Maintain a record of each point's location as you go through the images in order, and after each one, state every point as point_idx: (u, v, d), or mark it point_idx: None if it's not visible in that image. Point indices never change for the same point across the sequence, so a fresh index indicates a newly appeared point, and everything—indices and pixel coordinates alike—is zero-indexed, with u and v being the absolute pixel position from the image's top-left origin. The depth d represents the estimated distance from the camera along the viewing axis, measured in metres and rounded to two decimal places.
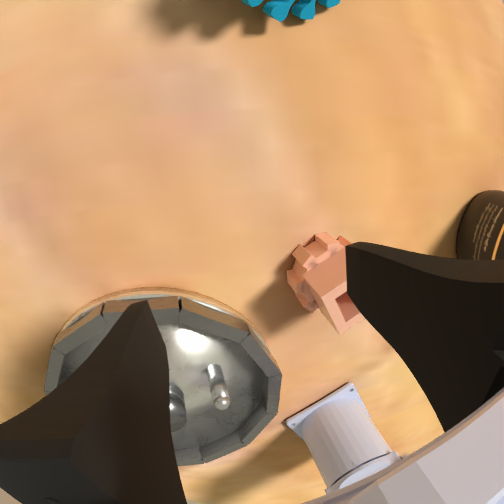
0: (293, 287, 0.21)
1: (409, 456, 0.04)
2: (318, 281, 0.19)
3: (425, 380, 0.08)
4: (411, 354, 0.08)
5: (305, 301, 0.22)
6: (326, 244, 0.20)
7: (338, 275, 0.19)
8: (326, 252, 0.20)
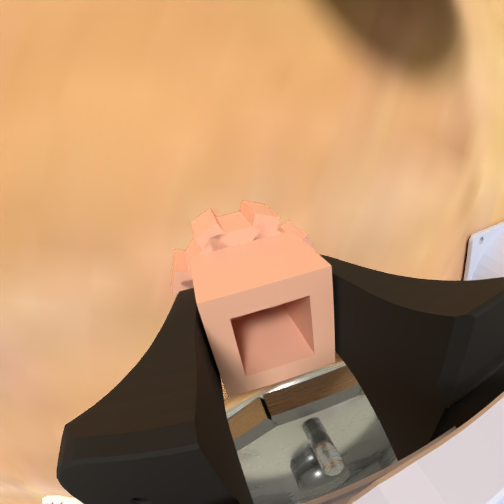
0: None
1: (409, 456, 0.04)
2: None
3: (377, 405, 0.07)
4: (363, 377, 0.08)
5: None
6: None
7: None
8: None
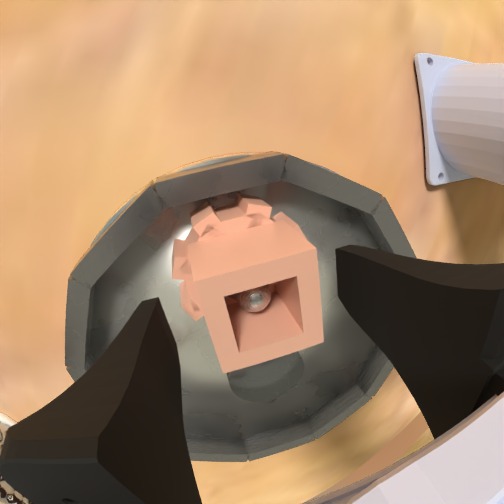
0: None
1: (409, 456, 0.04)
2: None
3: (415, 386, 0.08)
4: (401, 359, 0.08)
5: None
6: None
7: None
8: (186, 282, 0.12)
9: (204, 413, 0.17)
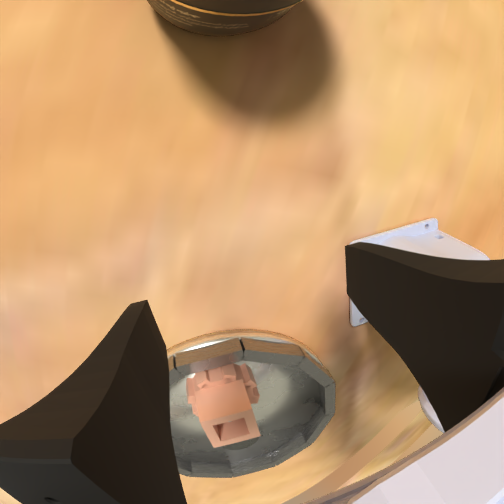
0: None
1: (409, 456, 0.04)
2: None
3: (425, 380, 0.08)
4: (411, 354, 0.08)
5: None
6: None
7: None
8: (195, 404, 0.22)
9: (205, 450, 0.27)
